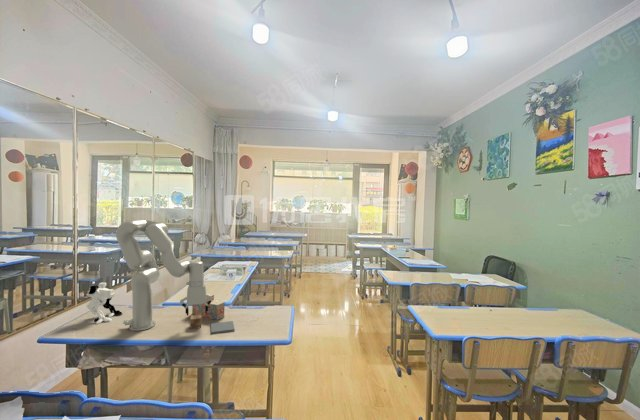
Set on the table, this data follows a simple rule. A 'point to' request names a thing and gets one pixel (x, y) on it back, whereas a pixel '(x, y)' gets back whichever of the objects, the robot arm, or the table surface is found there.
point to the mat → (222, 327)
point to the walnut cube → (195, 321)
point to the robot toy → (102, 302)
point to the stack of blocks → (210, 309)
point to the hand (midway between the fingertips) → (197, 313)
